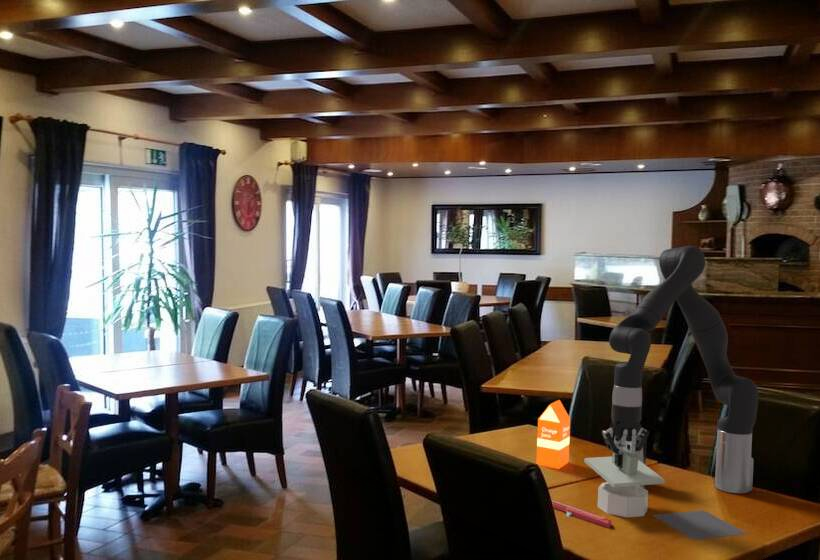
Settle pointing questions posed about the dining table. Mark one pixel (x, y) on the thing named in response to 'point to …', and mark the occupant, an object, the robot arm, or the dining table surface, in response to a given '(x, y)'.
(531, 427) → the dining table surface
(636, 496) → the bowl
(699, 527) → the mat
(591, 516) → the red piece
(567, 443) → the orange juice
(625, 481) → the cover
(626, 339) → the robot arm
